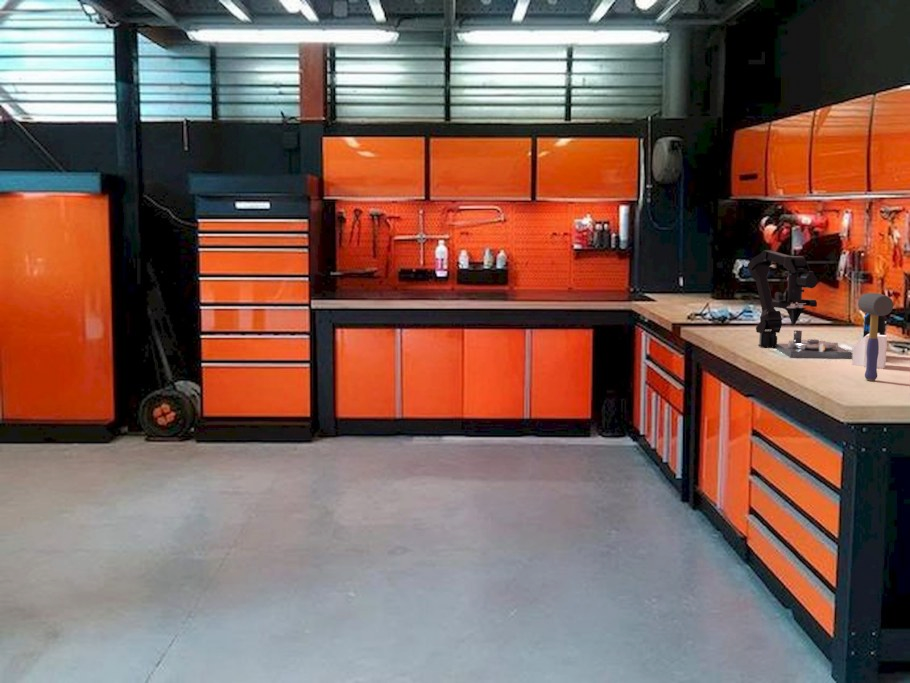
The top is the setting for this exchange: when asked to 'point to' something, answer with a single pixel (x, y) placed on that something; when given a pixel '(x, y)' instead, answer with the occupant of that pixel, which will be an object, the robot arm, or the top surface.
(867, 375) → the rubber mallet
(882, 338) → the corner bracket
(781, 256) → the robot arm
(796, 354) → the index base
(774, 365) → the top surface
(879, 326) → the aerosol can
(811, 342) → the sprocket
